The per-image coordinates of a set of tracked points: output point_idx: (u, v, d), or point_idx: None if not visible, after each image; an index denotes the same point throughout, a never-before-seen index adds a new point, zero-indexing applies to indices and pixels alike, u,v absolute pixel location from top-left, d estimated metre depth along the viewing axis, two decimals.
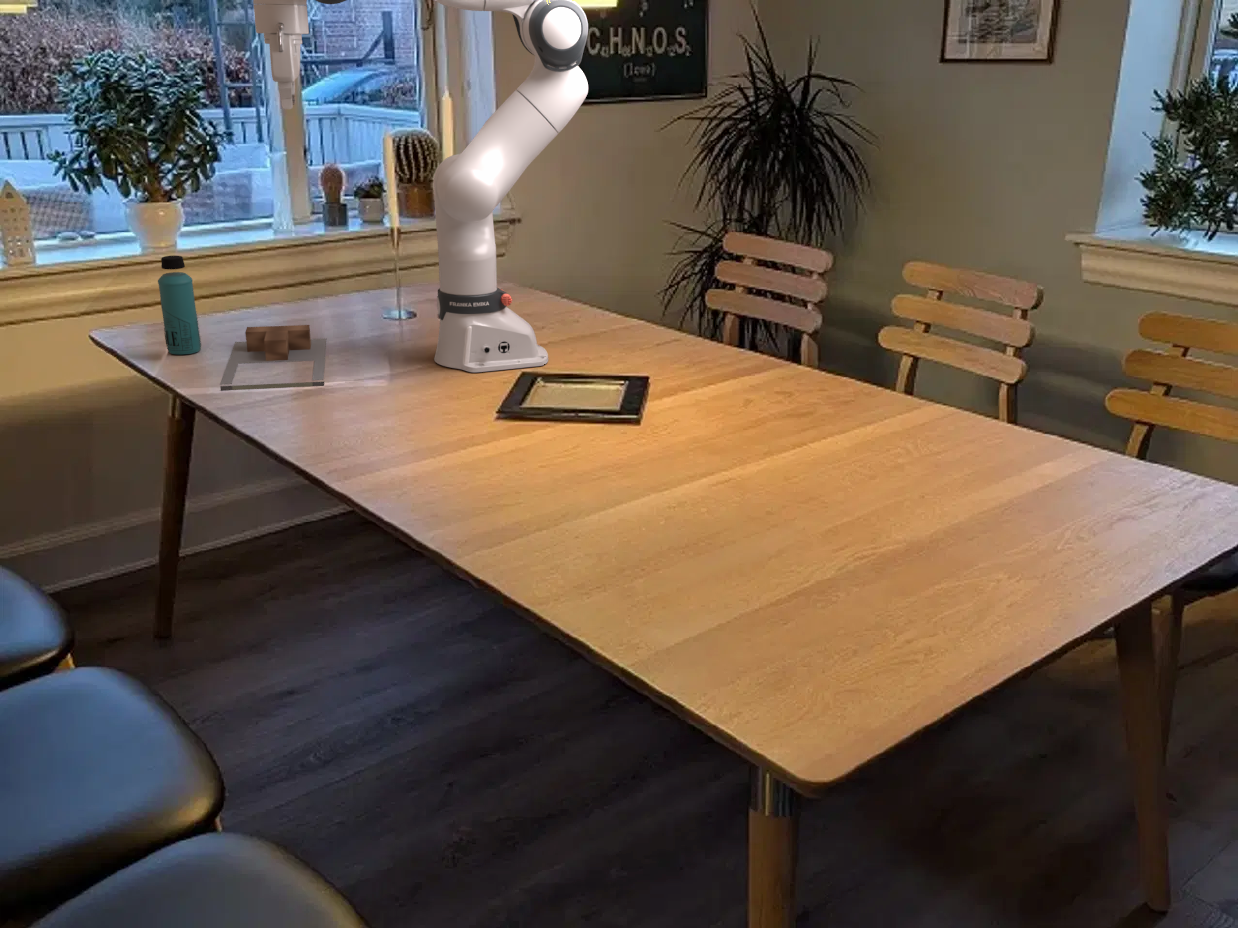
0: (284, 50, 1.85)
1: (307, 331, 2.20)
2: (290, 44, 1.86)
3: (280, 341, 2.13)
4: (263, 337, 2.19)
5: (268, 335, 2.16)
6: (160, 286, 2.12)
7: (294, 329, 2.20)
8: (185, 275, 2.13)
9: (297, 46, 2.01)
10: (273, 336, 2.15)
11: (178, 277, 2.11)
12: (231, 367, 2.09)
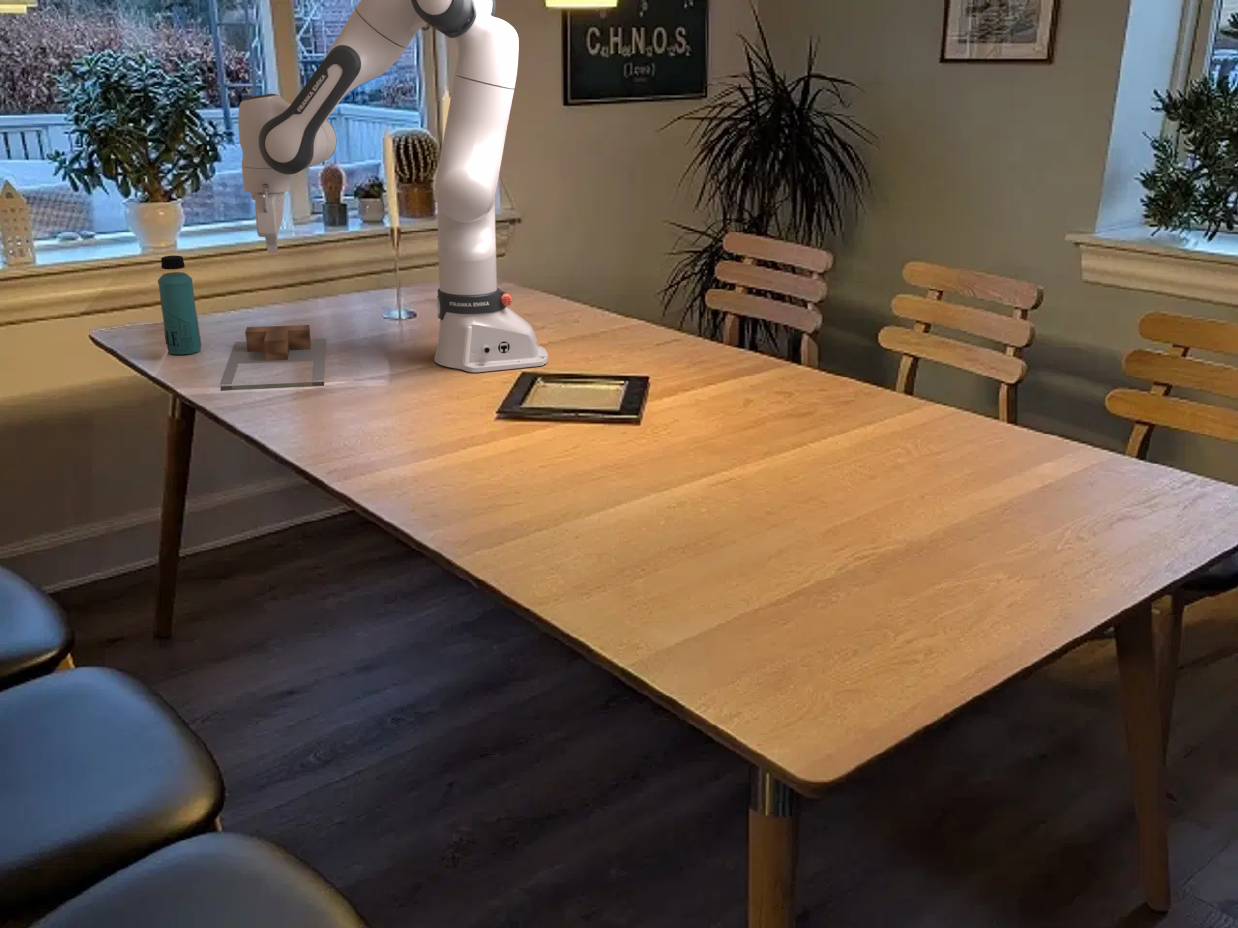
0: (268, 210, 2.10)
1: (307, 331, 2.20)
2: (273, 205, 2.10)
3: (280, 341, 2.13)
4: (263, 337, 2.19)
5: (268, 335, 2.16)
6: (160, 286, 2.12)
7: (294, 329, 2.20)
8: (185, 275, 2.13)
9: None
10: (273, 336, 2.15)
11: (178, 277, 2.11)
12: (231, 367, 2.09)
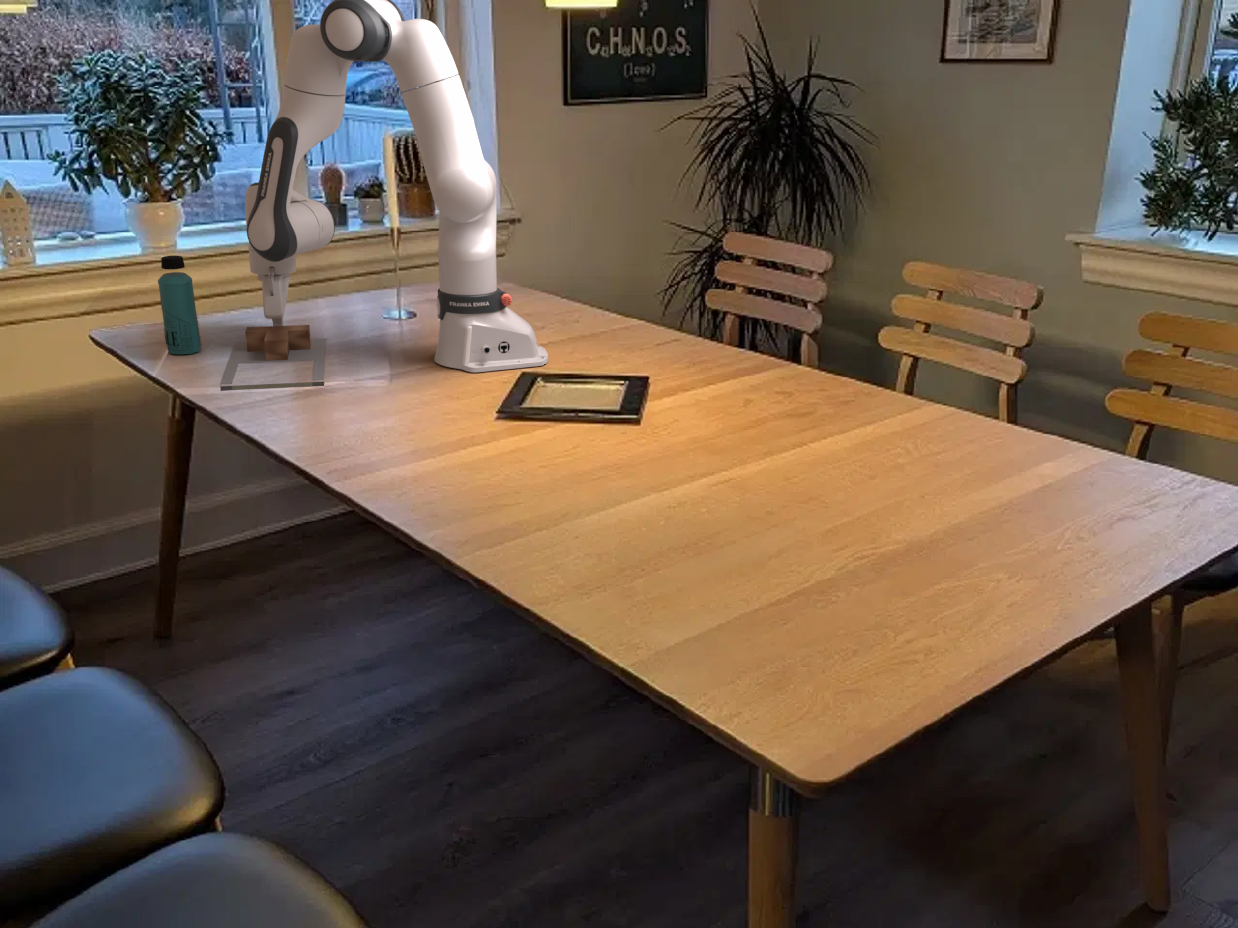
0: (275, 293, 2.16)
1: (307, 331, 2.20)
2: (280, 288, 2.16)
3: (280, 341, 2.13)
4: (263, 337, 2.19)
5: (268, 335, 2.16)
6: (160, 286, 2.12)
7: (294, 329, 2.20)
8: (185, 275, 2.13)
9: None
10: (273, 336, 2.15)
11: (178, 277, 2.11)
12: (231, 367, 2.09)
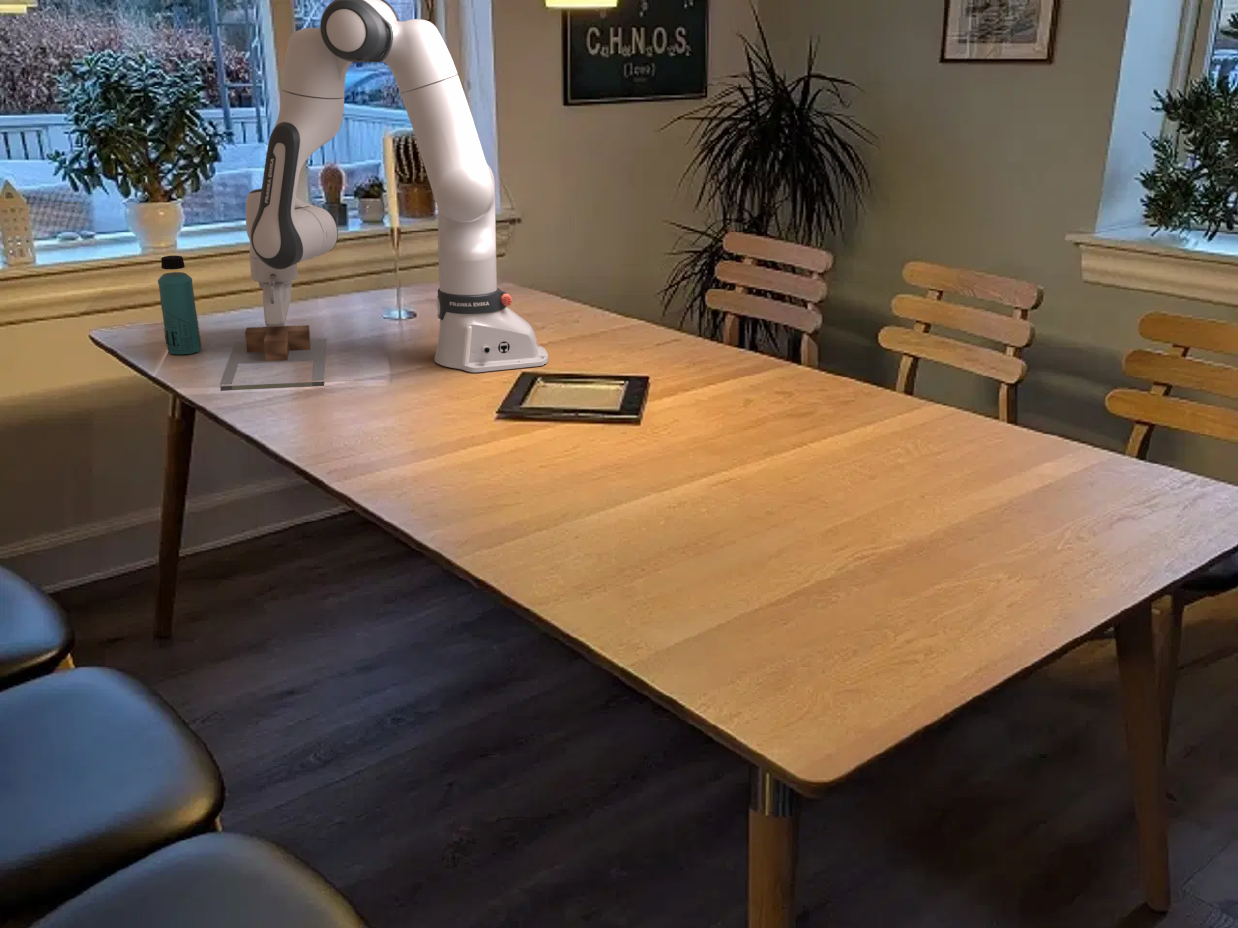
0: (275, 301, 2.13)
1: (307, 331, 2.20)
2: (281, 296, 2.13)
3: (280, 341, 2.13)
4: (263, 337, 2.19)
5: (268, 335, 2.16)
6: (160, 286, 2.12)
7: (294, 329, 2.20)
8: (185, 275, 2.13)
9: None
10: (273, 336, 2.15)
11: (178, 277, 2.11)
12: (231, 367, 2.09)
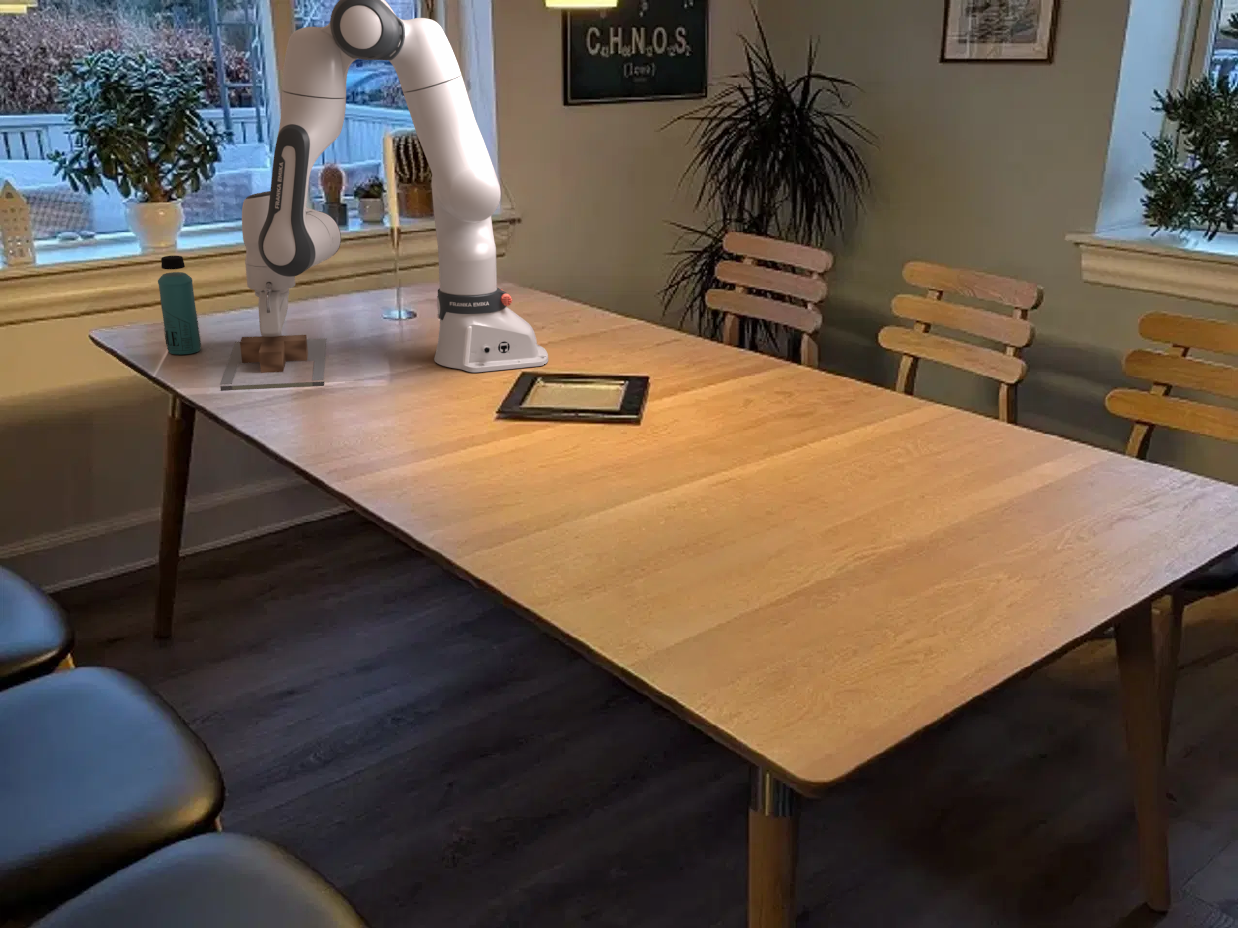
0: (271, 310, 2.06)
1: (304, 342, 2.13)
2: (277, 305, 2.06)
3: (275, 353, 2.06)
4: (258, 348, 2.12)
5: (263, 346, 2.09)
6: (160, 286, 2.12)
7: (290, 339, 2.13)
8: (185, 275, 2.13)
9: None
10: (268, 347, 2.08)
11: (178, 277, 2.11)
12: (231, 367, 2.09)
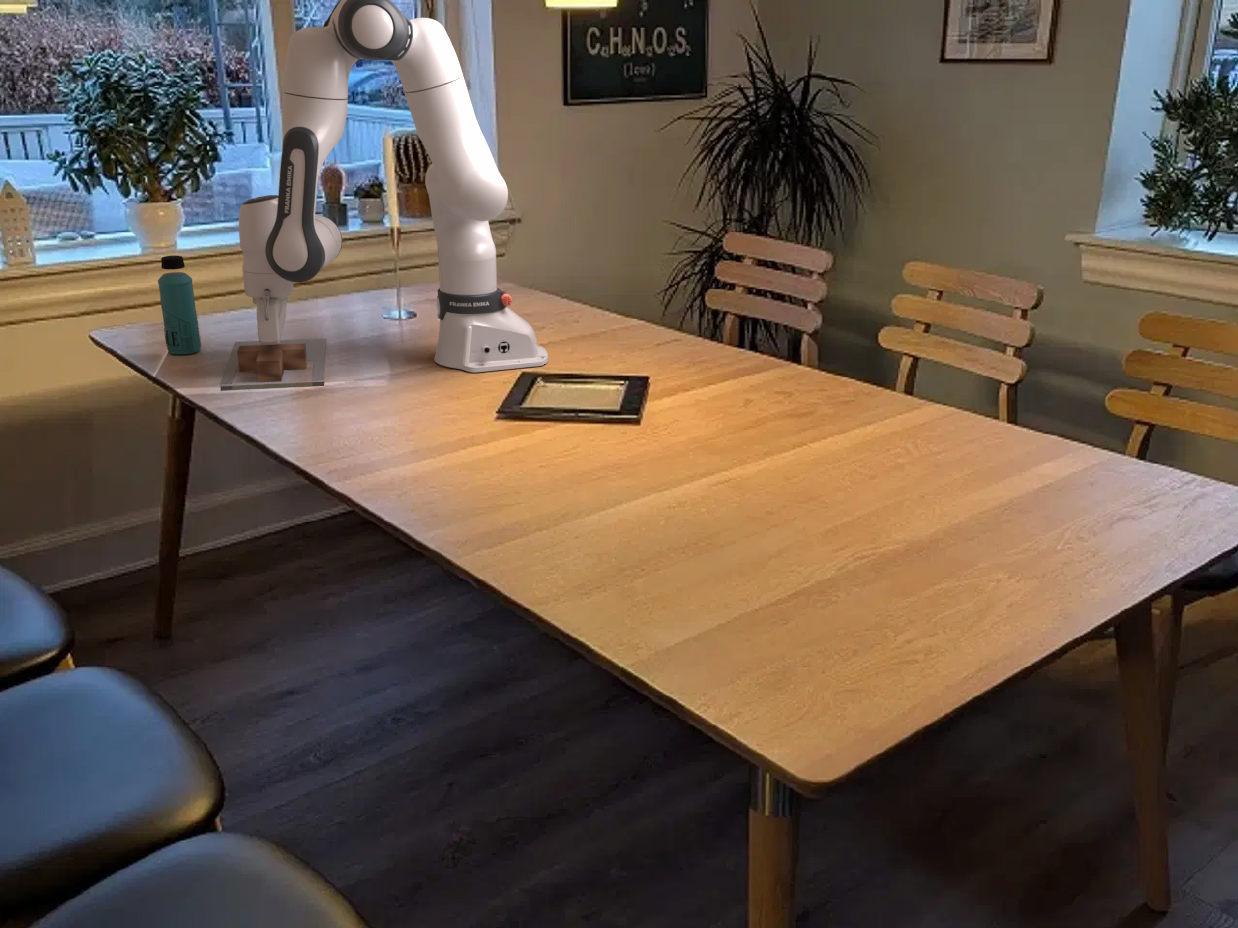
0: (270, 318, 2.01)
1: (303, 350, 2.08)
2: (276, 312, 2.01)
3: (273, 362, 2.01)
4: (256, 357, 2.06)
5: (261, 355, 2.03)
6: (160, 286, 2.12)
7: (289, 348, 2.08)
8: (185, 275, 2.13)
9: None
10: (266, 356, 2.03)
11: (178, 277, 2.11)
12: (231, 367, 2.09)
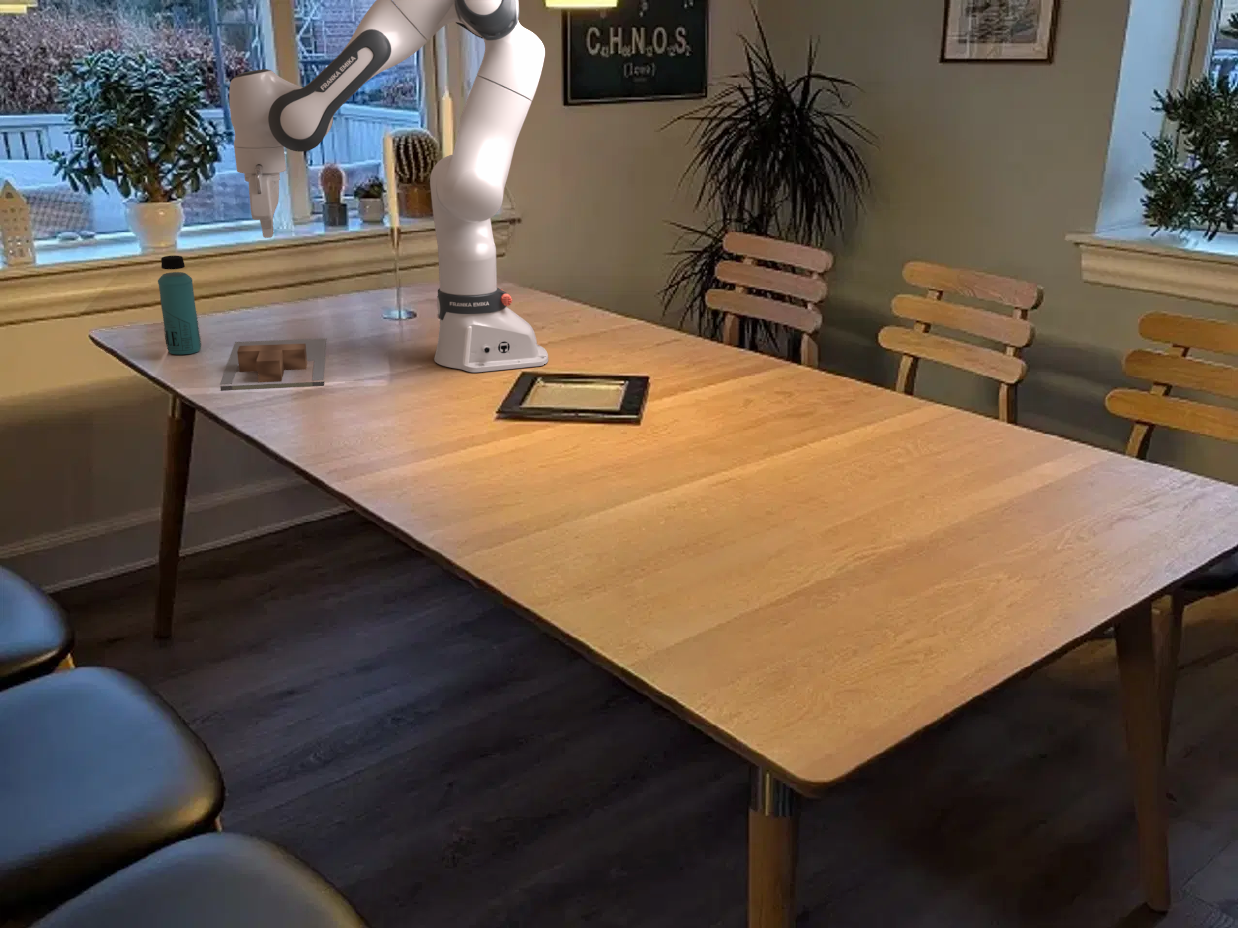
0: (262, 192, 2.00)
1: (303, 350, 2.08)
2: (268, 186, 2.00)
3: (273, 362, 2.01)
4: (256, 357, 2.06)
5: (261, 355, 2.03)
6: (160, 286, 2.12)
7: (289, 348, 2.08)
8: (185, 275, 2.13)
9: None
10: (266, 356, 2.03)
11: (178, 277, 2.11)
12: (231, 367, 2.09)
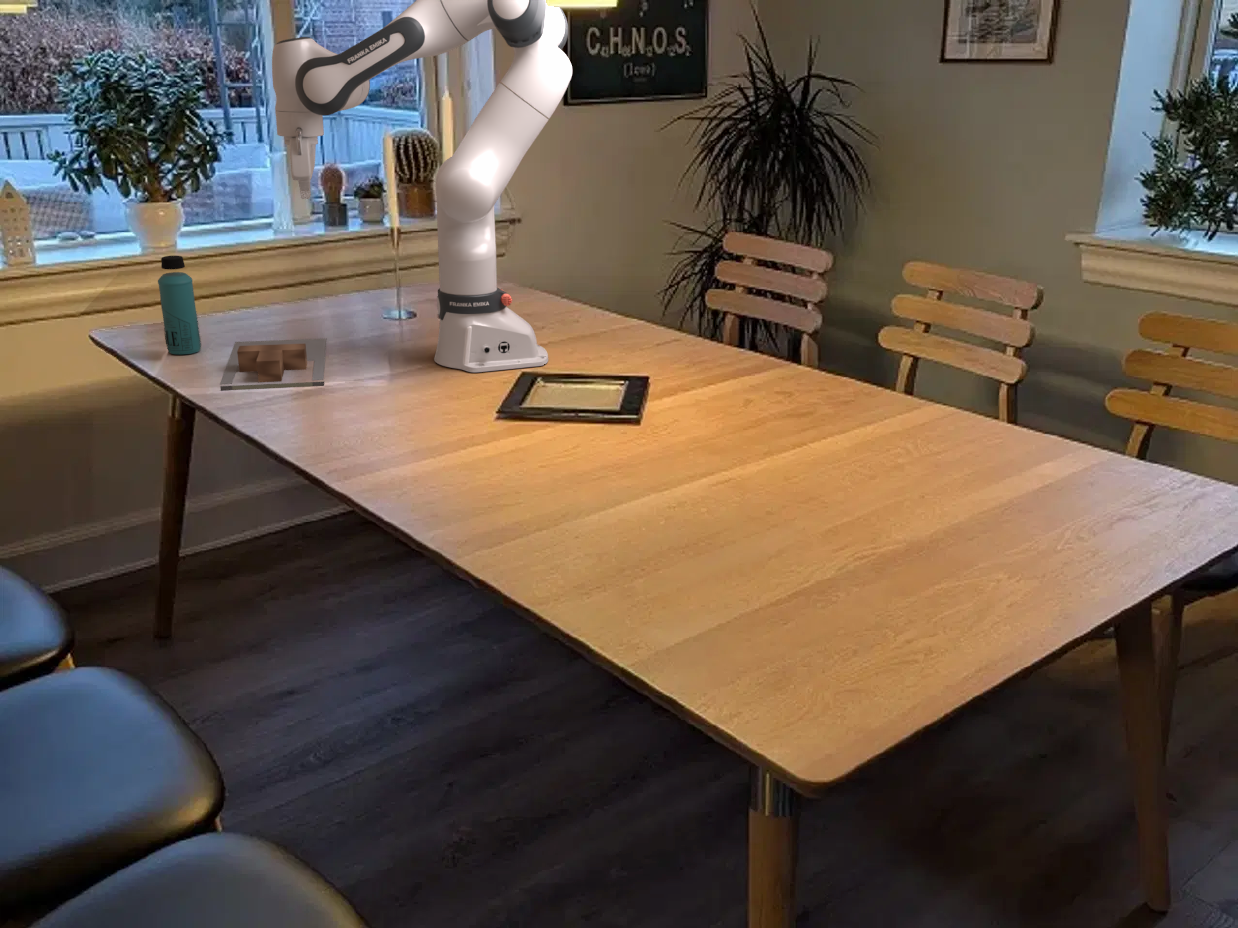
0: (302, 153, 2.10)
1: (303, 350, 2.08)
2: (308, 148, 2.11)
3: (273, 362, 2.01)
4: (256, 357, 2.06)
5: (261, 355, 2.03)
6: (160, 286, 2.12)
7: (289, 348, 2.08)
8: (185, 275, 2.13)
9: None
10: (266, 356, 2.03)
11: (178, 277, 2.11)
12: (231, 367, 2.09)
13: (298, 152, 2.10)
